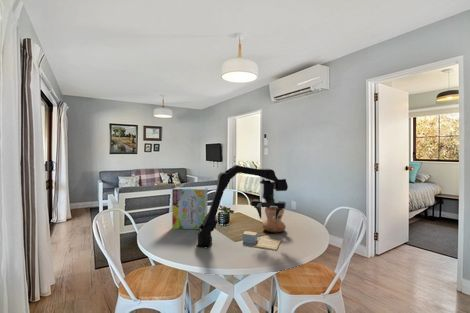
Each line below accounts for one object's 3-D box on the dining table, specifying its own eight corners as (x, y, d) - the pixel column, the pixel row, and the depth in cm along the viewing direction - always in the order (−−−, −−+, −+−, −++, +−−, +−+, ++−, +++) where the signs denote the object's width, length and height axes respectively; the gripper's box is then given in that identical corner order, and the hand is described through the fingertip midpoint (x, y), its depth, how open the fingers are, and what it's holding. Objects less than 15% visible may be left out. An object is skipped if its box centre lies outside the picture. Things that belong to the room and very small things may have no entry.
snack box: (207, 226, 161) (208, 187, 161) (204, 230, 153) (205, 189, 152) (176, 224, 164) (176, 186, 163) (171, 228, 155) (171, 188, 154)
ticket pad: (253, 246, 128) (253, 245, 128) (259, 238, 140) (259, 237, 140) (276, 250, 124) (276, 248, 124) (280, 241, 136) (280, 240, 136)
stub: (242, 242, 134) (242, 233, 134) (245, 239, 139) (245, 231, 139) (255, 243, 132) (255, 235, 132) (257, 240, 136) (257, 232, 136)
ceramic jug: (286, 236, 145) (287, 212, 145) (262, 234, 147) (262, 210, 147) (284, 227, 163) (285, 206, 163) (262, 225, 165) (263, 204, 165)
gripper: (248, 192, 131) (248, 221, 132) (283, 195, 125) (282, 225, 125) (253, 189, 142) (253, 216, 142) (286, 191, 135) (285, 219, 136)
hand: (268, 219), depth 136 cm, fingers open, 8 cm apart
